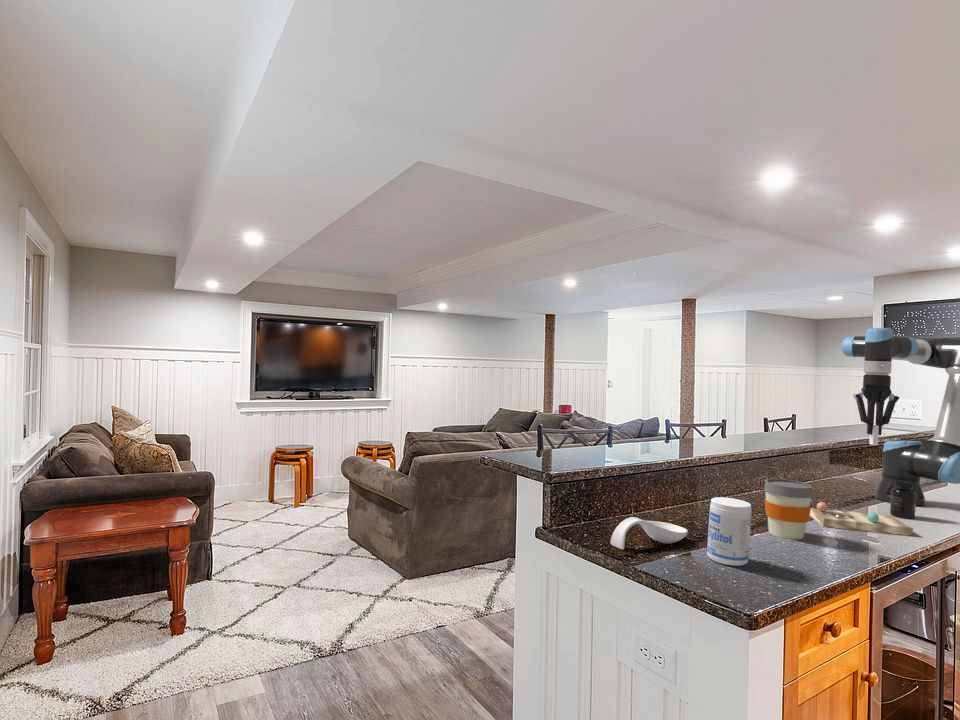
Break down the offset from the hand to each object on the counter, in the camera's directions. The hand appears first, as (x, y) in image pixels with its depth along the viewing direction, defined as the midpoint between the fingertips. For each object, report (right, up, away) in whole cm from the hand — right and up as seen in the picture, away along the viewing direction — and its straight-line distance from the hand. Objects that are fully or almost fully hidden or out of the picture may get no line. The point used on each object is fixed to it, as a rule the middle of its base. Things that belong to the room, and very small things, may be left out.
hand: (873, 444), depth 189 cm
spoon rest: (-86, -21, -36) cm, 96 cm away
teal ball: (-11, -20, -16) cm, 28 cm away
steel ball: (-17, -22, -9) cm, 30 cm away
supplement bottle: (+12, -25, +3) cm, 28 cm away
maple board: (-12, -24, -10) cm, 29 cm away
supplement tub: (-70, -22, -47) cm, 87 cm away
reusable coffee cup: (-42, -23, -23) cm, 53 cm away
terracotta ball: (-20, -20, -5) cm, 29 cm away
